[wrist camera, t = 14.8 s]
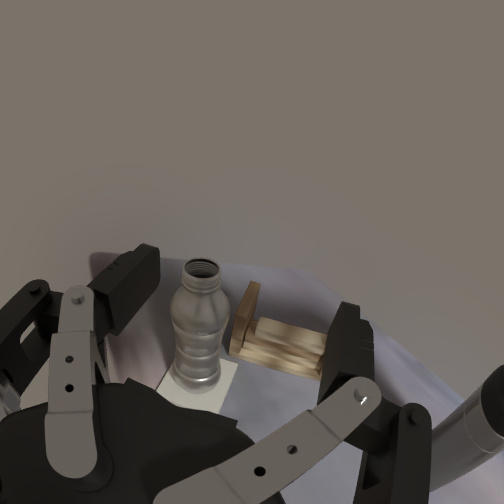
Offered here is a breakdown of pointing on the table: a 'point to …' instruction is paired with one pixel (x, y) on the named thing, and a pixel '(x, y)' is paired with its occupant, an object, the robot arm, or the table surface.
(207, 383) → the plastic bottle
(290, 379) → the table surface
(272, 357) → the offcut rack
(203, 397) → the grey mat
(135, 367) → the table surface
